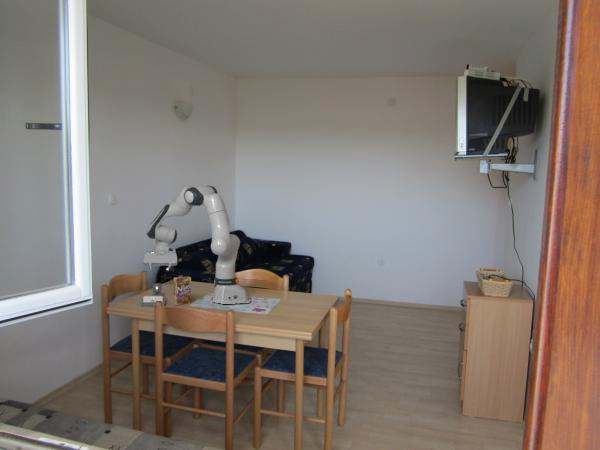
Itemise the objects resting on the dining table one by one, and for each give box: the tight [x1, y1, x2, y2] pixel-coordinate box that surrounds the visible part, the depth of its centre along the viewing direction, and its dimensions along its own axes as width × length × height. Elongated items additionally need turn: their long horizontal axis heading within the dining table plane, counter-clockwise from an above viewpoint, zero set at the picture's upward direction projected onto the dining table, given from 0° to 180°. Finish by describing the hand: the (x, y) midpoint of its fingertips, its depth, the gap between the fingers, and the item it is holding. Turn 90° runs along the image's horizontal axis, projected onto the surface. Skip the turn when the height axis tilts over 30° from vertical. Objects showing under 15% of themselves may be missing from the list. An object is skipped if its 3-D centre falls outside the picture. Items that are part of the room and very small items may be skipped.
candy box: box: [172, 275, 192, 306], centre depth 259 cm, size 9×4×15 cm, turn 123°
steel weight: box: [152, 282, 163, 296], centre depth 270 cm, size 5×5×8 cm
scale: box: [141, 294, 167, 308], centre depth 257 cm, size 12×12×6 cm
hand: (159, 270), depth 280 cm, fingers open, 8 cm apart
